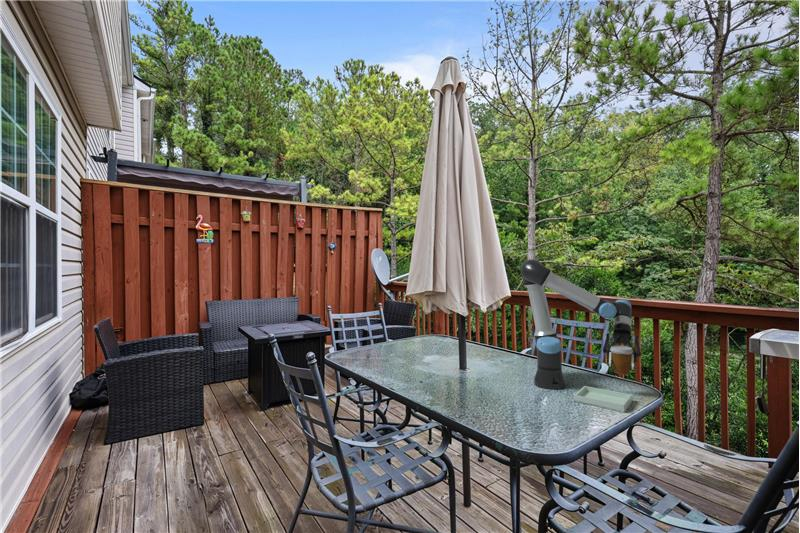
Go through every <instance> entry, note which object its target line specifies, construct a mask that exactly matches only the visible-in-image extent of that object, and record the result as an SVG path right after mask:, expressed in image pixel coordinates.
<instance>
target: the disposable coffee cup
mask: <svg viewBox="0 0 800 533" xmlns="http://www.w3.org/2000/svg"><path fill="white" fill-rule="evenodd" d="M610 350H611V363H612V368H613V373H615V374H617V375H622V376H627V375H630V369H631V366H632V353H633V350H632V348H631V347H628V346H627V345H616V346H611V349H610Z"/></svg>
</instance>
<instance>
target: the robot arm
mask: <svg viewBox="0 0 800 533" xmlns="http://www.w3.org/2000/svg"><path fill="white" fill-rule="evenodd" d="M520 274H521V277H522V283H523V286H524V287H525V288H527V292H528V296H529V297H528V298H529V303H530V306H531V307H530V308H531V312H532V318H533V322H534V326H535V332H534V333H533V336H534V341H535V347H536V360H537V361H536V362H537V363H536V364H537V365H536V366H537V369H536V373H535V375H534V378H533V385H534V386H537V387H539V388H542V389H546V390H547V389H548V390H560V389H565V388H566V387H567V385H566V384H567V381H566V378H565V375H564V373H563V366H562V364H563V363H562V360H563V359H562V347H563V346H562V341H561V340H560V339H559V337H558V333H557V331H556V330H555V329H554V328H553V324H552V318H551V315H550V308H549V304H548V301H547V299H548V298H547V295H546V290H545V287H546V288H548V289H550V290H551V291H554V292H555V293H558V294H560V295H562V296H563V297H565V298H567V299H569V300H570V301H573V302H575V303H577V304H578V305H580V306H582V307H584V308H586V309H588V311H590V312H593V313H594V314H596V315H599V316H601V318H604V319H608V320H609V319H612V318H613V332H612V334H609V333H606V334H605V337H606V339H605V341H604V344H603V348H602V352H603V354H606V360H607V361H608V367H609V368H612V367H611V366H612V354H611V350H610V349H611V346H618V344H623V345H625V346H627V347H631V348H632V350H633V353H632V358H631V370H633V371H634V370H635V368H634V365H635V364H637V361H638V360H637V358H638V357H639V358H640V357H642V351H641V348H640V344H639V336H638V335H636V336H633V335H632V311H633V310H632V304H631V302H630V301H629V300H627V299H626V298H625V299H624V298H622V299H617V300H615V301H610V300H606V299H603V298H601V297H599V296H597V295H596V294H594V293H592V292H590V291H588V290H586V289H584V288H582V287H580V286H578V285H577V284H574V283H573V282H571V281H568V280H566V279H565V278H562V277H561V276H559V275H557V274H555V273H553V271H552V269H550V268H548V267H547V266H545V265H544V264H543V263H541V262H540V261H539V260H537V259H534V258H533V259H531V258H529V259H527V260H525V261H524V262H523V263H522V264H521V267H520ZM611 339H613V341H612V343H611V344H610V340H611ZM631 341H633V343H634V345H635V348H634V346H633V345H632V344H631ZM609 344H610V345H609ZM634 363H635V364H634Z"/></svg>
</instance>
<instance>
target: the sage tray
mask: <svg viewBox="0 0 800 533" xmlns="http://www.w3.org/2000/svg"><path fill="white" fill-rule="evenodd" d="M573 402H574V403H579V404H582V405H589V406H590V407H591V406H593V407H596V408H601V409H606V410H609V411H610V410H611V411H615V412H621V413H625V412H626V411H627V409H628V408H629V407H630V405H631V404H632V402H633V394H631V393H626V392H625V393H624V392H621V391H620V392H619V391H614V390H609V389H603V388H598V387H593V386H586V385H584V386H582V387H581V388H580V389H579V390H578V391H577V392H575V393H574V394H573Z"/></svg>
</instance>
